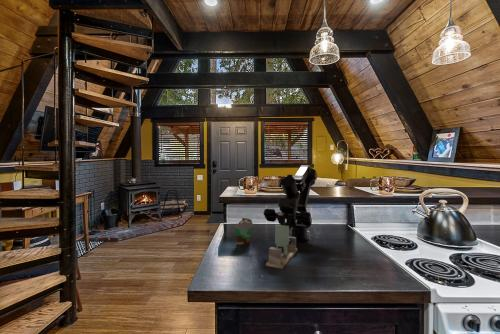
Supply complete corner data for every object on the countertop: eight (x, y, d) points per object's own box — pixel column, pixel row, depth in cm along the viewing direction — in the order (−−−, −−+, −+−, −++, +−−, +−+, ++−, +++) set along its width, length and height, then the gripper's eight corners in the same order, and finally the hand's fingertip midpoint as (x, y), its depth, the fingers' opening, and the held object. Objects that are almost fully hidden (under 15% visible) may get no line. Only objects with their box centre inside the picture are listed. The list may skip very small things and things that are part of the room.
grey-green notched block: (276, 250, 105) (277, 223, 105) (289, 252, 103) (289, 225, 103) (274, 253, 102) (274, 225, 102) (287, 255, 100) (287, 227, 100)
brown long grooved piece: (283, 248, 114) (283, 234, 114) (297, 250, 112) (297, 235, 111) (265, 265, 96) (266, 248, 96) (282, 268, 94) (282, 250, 93)
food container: (249, 248, 115) (250, 224, 114) (235, 247, 116) (235, 223, 116) (255, 239, 127) (255, 218, 126) (242, 238, 128) (242, 217, 128)
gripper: (265, 188, 111) (254, 221, 102) (310, 191, 104) (303, 226, 94) (271, 205, 119) (262, 236, 109) (314, 208, 111) (308, 242, 101)
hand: (282, 235), depth 103 cm, fingers closed, pressing on grey-green notched block
